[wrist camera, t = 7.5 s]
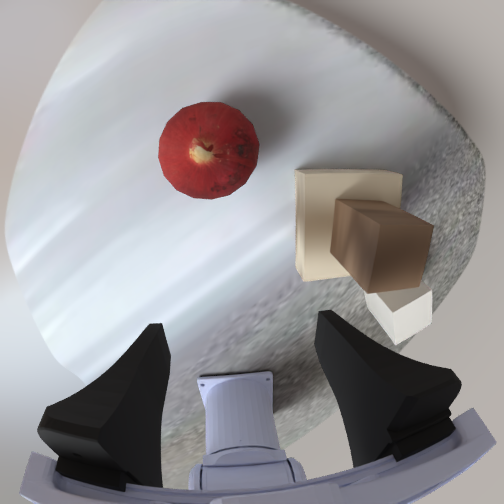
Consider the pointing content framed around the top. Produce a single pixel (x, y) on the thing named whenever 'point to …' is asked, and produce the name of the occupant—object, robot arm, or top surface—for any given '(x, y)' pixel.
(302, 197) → the beech slab
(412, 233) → the walnut block
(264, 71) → the top surface
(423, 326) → the offwhite block
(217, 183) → the onion
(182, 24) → the top surface
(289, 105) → the top surface
